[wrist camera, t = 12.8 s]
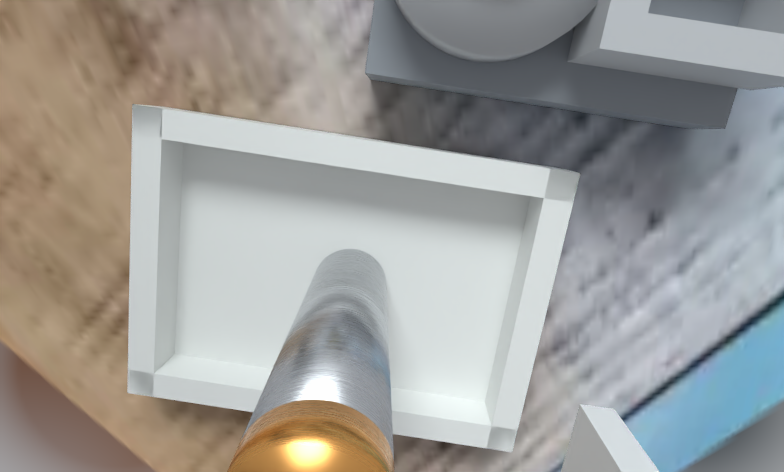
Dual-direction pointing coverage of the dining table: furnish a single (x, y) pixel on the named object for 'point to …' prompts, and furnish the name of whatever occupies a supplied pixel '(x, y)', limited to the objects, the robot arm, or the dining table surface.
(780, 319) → the dining table surface
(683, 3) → the tensioner block
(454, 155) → the tray
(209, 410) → the dining table surface
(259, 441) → the pin
